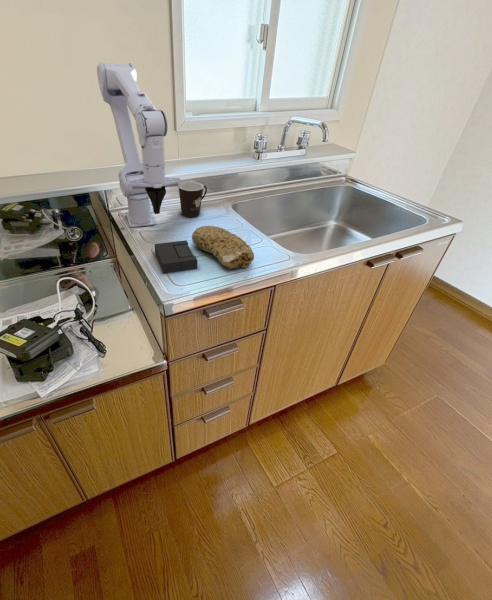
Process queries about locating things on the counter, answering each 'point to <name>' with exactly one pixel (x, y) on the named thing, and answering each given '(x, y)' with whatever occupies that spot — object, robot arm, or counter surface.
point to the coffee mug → (191, 198)
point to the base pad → (173, 258)
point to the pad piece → (183, 251)
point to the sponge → (223, 246)
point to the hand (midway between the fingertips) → (156, 212)
